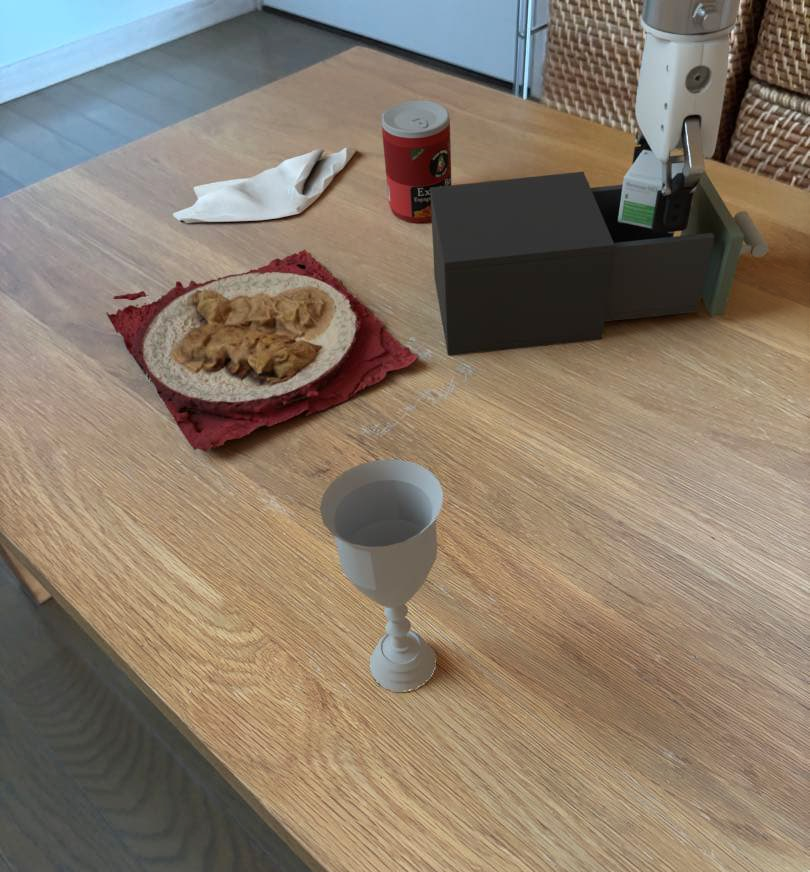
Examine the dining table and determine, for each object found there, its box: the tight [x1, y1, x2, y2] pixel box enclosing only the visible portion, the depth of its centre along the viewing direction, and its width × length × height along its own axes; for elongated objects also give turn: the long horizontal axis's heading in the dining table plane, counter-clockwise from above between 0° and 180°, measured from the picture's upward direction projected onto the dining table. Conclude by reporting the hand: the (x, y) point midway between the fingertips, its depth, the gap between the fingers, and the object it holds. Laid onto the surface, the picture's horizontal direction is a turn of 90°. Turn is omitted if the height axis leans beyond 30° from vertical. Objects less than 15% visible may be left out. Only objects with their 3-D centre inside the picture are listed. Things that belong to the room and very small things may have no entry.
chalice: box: [319, 458, 444, 692], centre depth 57 cm, size 7×7×18 cm
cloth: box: [172, 146, 358, 224], centre depth 109 cm, size 26×14×2 cm, turn 113°
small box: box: [618, 150, 694, 234], centre depth 82 cm, size 6×6×5 cm
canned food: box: [381, 100, 452, 224], centre depth 101 cm, size 8×8×11 cm
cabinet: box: [430, 171, 615, 356], centre depth 87 cm, size 16×14×11 cm
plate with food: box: [105, 248, 418, 452], centre depth 88 cm, size 24×26×3 cm
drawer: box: [590, 170, 769, 322], centre depth 87 cm, size 19×12×9 cm, turn 94°
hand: (656, 206), depth 83 cm, fingers closed on small box, 7 cm apart
